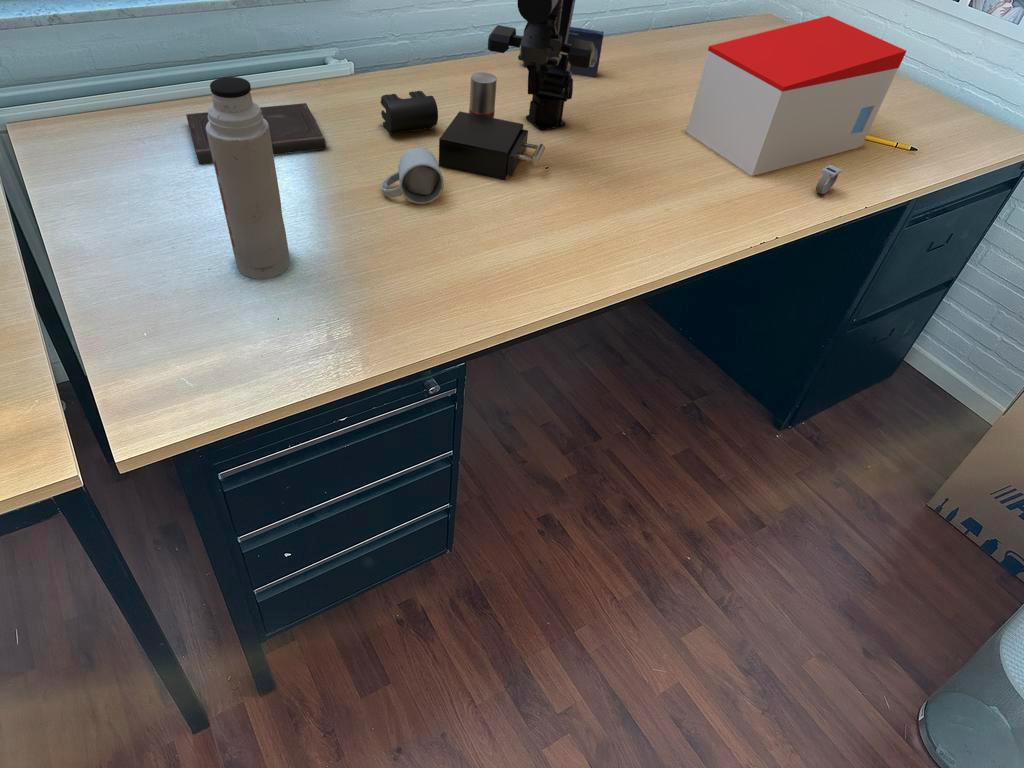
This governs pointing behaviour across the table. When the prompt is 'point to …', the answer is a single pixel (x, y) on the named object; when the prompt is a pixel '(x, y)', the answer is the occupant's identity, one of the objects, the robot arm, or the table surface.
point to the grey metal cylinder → (483, 94)
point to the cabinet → (478, 145)
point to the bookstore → (792, 93)
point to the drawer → (522, 152)
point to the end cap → (409, 112)
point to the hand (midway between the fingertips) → (536, 92)
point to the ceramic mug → (416, 177)
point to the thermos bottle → (247, 179)
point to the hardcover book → (286, 126)
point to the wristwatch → (828, 172)
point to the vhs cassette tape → (597, 41)
